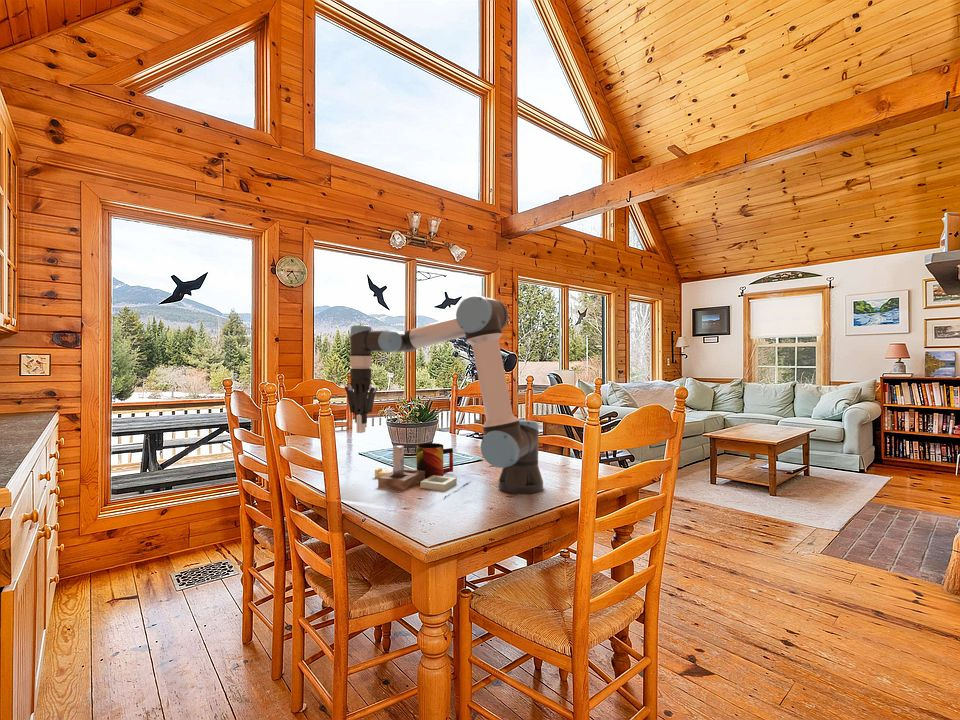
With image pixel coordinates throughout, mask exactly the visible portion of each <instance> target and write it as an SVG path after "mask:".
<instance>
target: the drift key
mask: <svg viewBox="0 0 960 720" xmlns="http://www.w3.org/2000/svg"><path fill="white" fill-rule="evenodd" d="M390 472H391V471H390V470H389V471H388V470H383V467H382V468H380V467H379V468H376V469H374V478H377V479H378V477H381V476H383V475H386V474H388V473H390Z"/></svg>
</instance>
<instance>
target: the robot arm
mask: <svg viewBox="0 0 960 720" xmlns="http://www.w3.org/2000/svg"><path fill="white" fill-rule="evenodd" d="M508 322H509V311H508V308H507V307H506V305H505V304H504V303H503V302H501V301H500V300H498V299H495V298H491V297H487V296H484V295H470V296H468V297H466V298H464V299H463V300H462V301H461V302H460V303H459V306H457V309H456V314H455V317H451V318H448V319H444V320H443V319H442V320H441V321H437V322H432V323H430V324H426V325H422V326H419V327H415V328H412V329H408V330H404V331H399V330H398V331H397V330H391V329H390V330H389V329H385V330H372V326H371V325H366V324H365V325H358V324H357V325H356V324H355V325H352V326H351V327H350V336H349V345H350V346H349V347H350V355H349V358H350V359H349V360H350V362H349V367H350V370H349V371H350V375H349V377H350V384H349V385H346V386H344V390H345V392H346V395H347V401H348V406H349V407H348V408H349V411H350V413H353V414H354V423H355V424H356V433H357V434H363V433H366V424H367V422H368V414H371V413H373V412H372V411H373V407H374V402H375V396H376V394H377V391H378V387H377V386H374V385H373V383H372V368H371V367H372V352H376V353H379V352H380V353H381V352H382V353H383V352H386V353H393V352H394V353H396V352H402V353H403V352H404V353H411V352H414V351H416V350H417V349H420V348H424V347H429V346H433V345H436V344H440V343H441V344H442V343H445V342H447V341H452V340H456V339H460V338H465V339H466V343H468V344H469V345H471V347H472V351H473V357H474V361H475V367H476V373H477V378H478V383H479V388H480V395H481V400H482V404H483V410H484V417H485V421H484V423H483V425H482V430H483V437H482V440H481V443H480V452H481V455H482V457H483V459H484V460H485V461H486V462H487V463H488V464H489V465H491V466H493V467H495V468H498V469H499V468H500V469H501V472H500V476H499V477H498V489H499V490H501V491H503V492H505V493H511V494H520V495H521V494H522V495H523V494H524V495H526V494H535V493H539V492H541V491H543V490H544V480H543V477H542V473H541V471H540V467H539V433H540V430H539V424H538V422H537V421H536V420H525V419H523V420H522V419H519V418H518V417H517V416H515V414H514V413H513V408H512V403H511V399H510V397H511V396H510V393H509V388H508V382H507V378H506V372H505V367H504V362H503V357H502V352H501V346H500V338H501V337H502V336H503V333H502V331H503V330H504V328H505V327H506V326H507V324H508Z"/></svg>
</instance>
